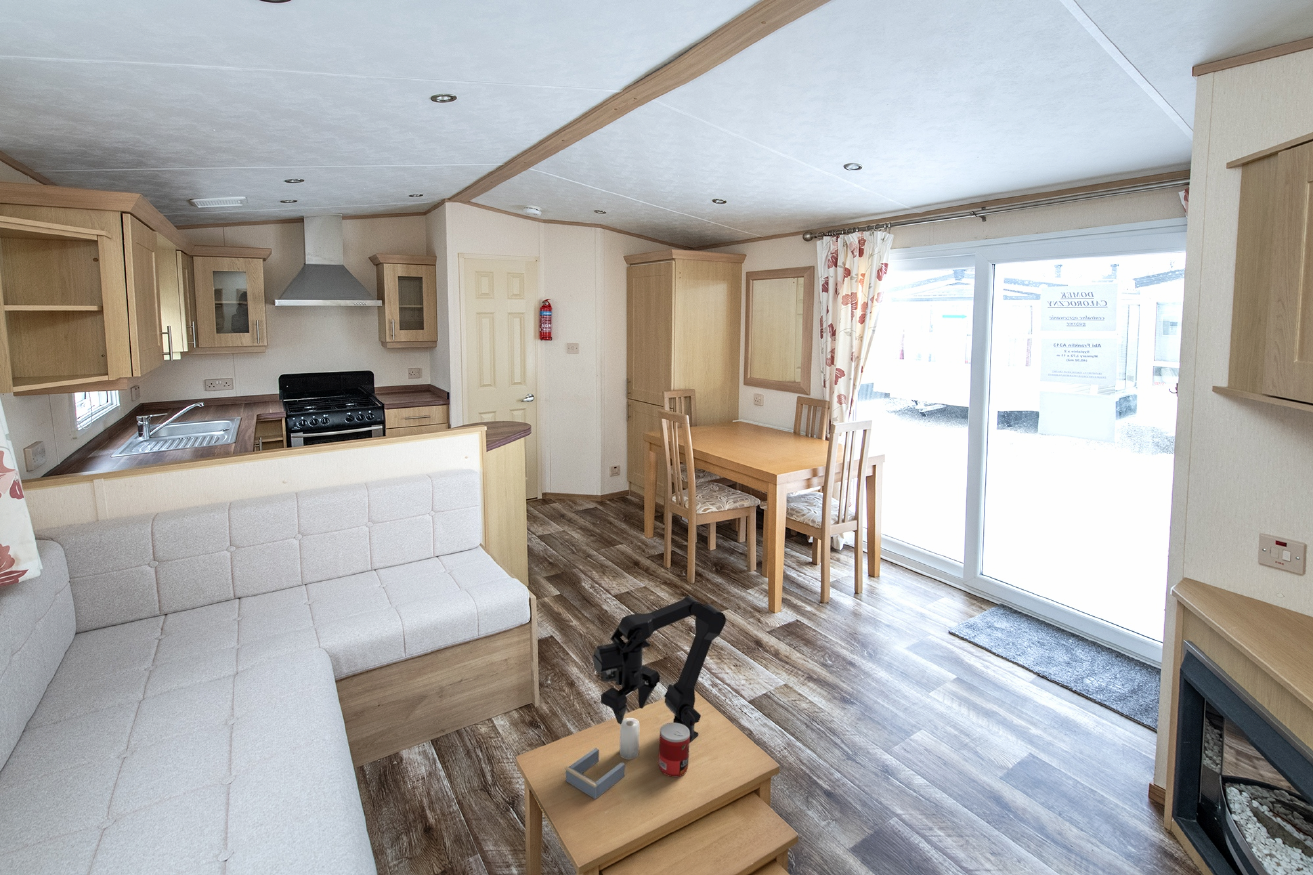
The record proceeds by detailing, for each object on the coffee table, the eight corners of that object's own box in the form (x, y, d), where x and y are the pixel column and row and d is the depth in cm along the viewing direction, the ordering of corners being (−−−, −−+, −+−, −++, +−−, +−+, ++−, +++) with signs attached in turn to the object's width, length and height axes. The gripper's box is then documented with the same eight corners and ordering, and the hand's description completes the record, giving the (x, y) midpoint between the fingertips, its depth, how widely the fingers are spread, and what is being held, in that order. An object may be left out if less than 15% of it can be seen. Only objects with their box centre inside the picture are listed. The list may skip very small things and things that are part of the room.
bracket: (595, 759, 184) (595, 745, 183) (624, 776, 178) (624, 762, 177) (564, 781, 175) (565, 767, 174) (594, 799, 169) (594, 785, 168)
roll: (627, 744, 191) (628, 715, 189) (642, 752, 188) (643, 722, 186) (615, 753, 187) (616, 723, 185) (630, 761, 183) (631, 731, 182)
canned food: (685, 779, 177) (687, 742, 175) (655, 774, 179) (657, 737, 177) (690, 761, 185) (691, 724, 182) (661, 756, 186) (662, 720, 184)
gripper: (630, 640, 194) (629, 690, 197) (585, 666, 179) (585, 719, 182) (661, 653, 187) (660, 704, 190) (617, 681, 173) (616, 736, 176)
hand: (630, 715), depth 185 cm, fingers open, 9 cm apart
